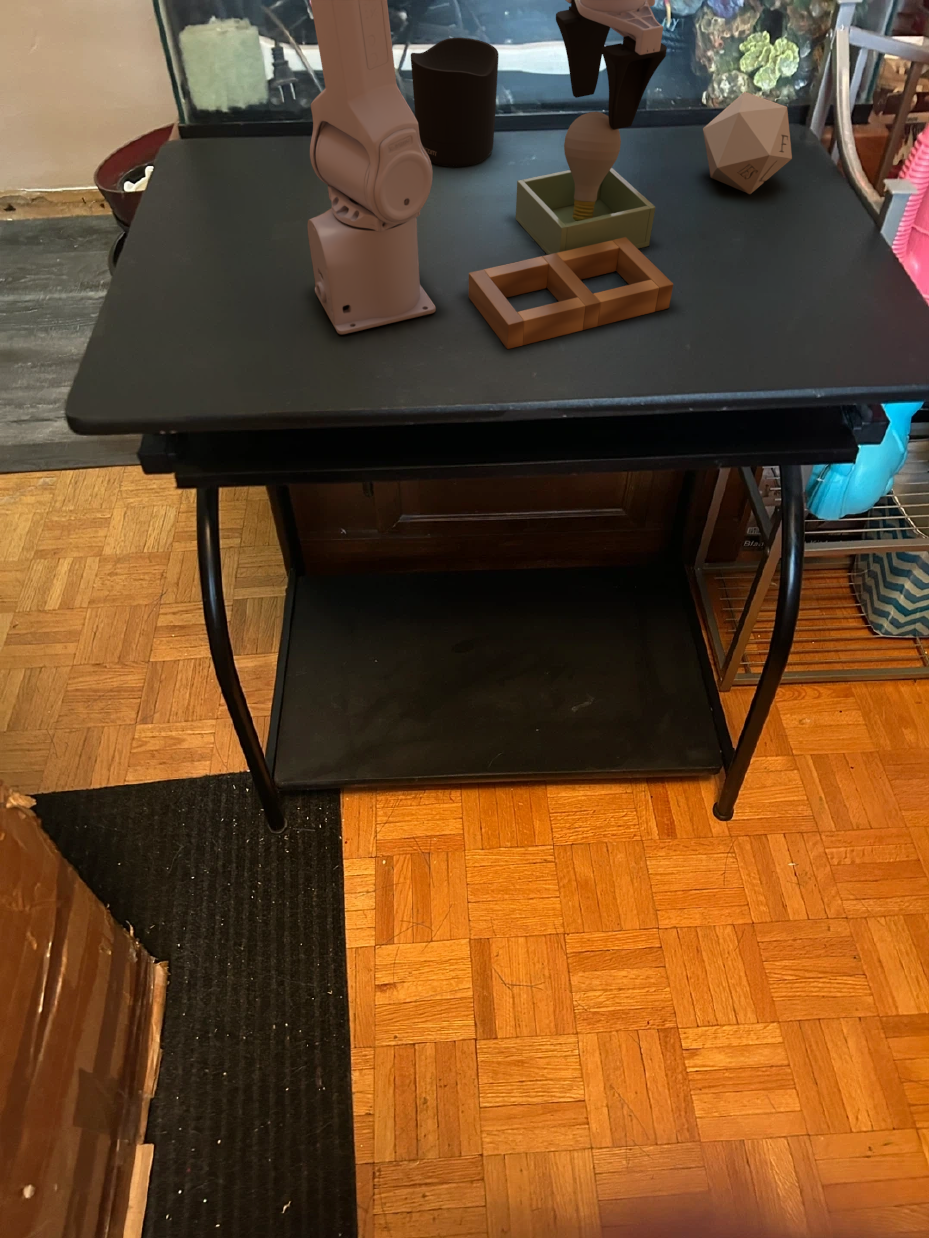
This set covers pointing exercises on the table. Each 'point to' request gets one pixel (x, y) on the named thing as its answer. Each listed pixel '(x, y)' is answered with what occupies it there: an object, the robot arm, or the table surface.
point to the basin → (614, 217)
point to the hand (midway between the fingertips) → (601, 110)
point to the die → (748, 142)
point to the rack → (568, 291)
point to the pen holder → (456, 100)
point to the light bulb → (590, 158)
